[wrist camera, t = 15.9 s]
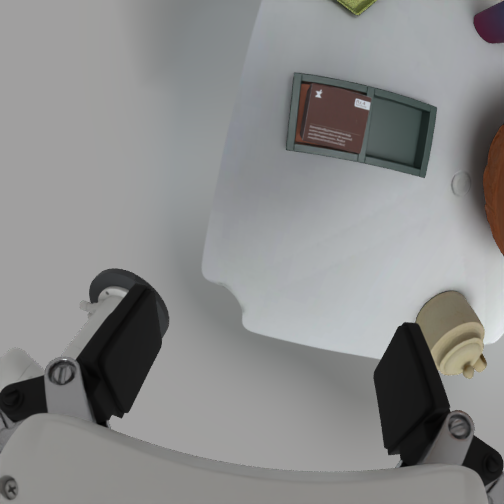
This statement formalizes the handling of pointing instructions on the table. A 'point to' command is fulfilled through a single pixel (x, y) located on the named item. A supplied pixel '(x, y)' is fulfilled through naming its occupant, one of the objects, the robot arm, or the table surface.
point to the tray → (373, 127)
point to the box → (335, 117)
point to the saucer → (357, 5)
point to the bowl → (495, 188)
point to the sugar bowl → (453, 334)
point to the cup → (491, 23)
